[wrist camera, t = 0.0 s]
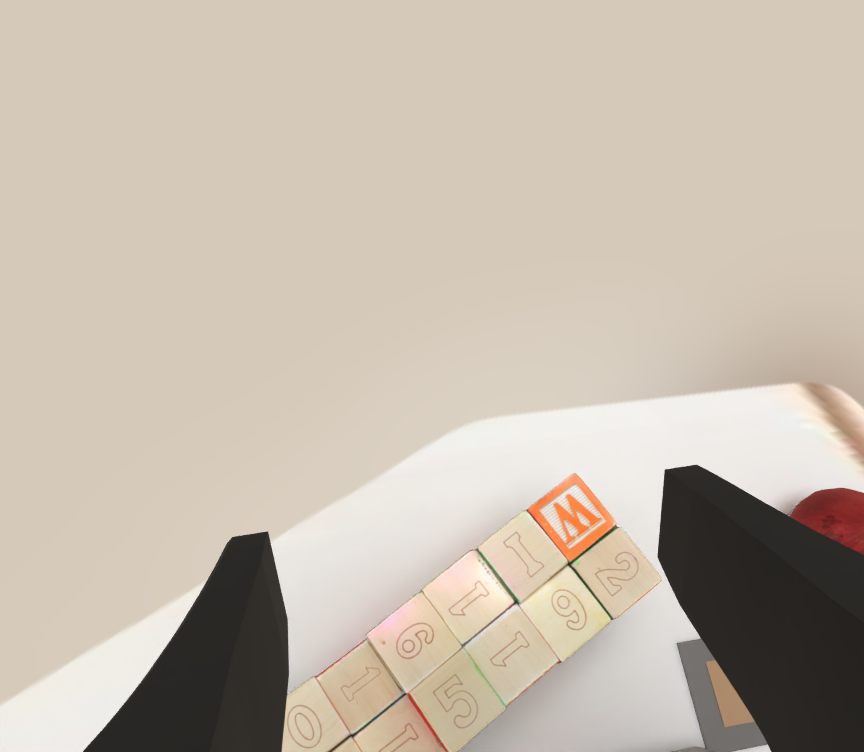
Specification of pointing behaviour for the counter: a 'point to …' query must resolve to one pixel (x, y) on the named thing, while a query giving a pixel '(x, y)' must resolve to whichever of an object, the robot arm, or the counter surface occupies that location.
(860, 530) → the onion
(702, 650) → the card
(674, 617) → the counter surface
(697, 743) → the counter surface
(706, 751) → the slate base block
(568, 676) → the counter surface
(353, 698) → the stack of blocks
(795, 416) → the counter surface
